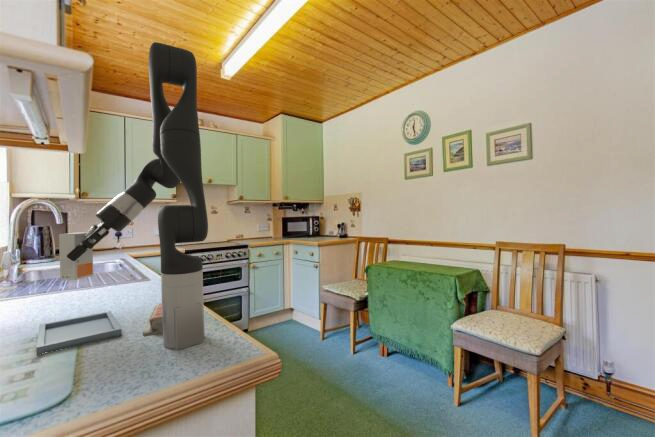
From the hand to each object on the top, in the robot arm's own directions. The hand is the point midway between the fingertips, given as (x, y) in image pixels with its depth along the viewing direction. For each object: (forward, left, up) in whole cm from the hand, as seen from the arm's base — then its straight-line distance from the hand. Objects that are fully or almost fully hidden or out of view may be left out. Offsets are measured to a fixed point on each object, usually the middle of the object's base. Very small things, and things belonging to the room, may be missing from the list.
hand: (69, 257), depth 81 cm
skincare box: (0, -2, -6) cm, 6 cm away
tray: (0, -1, -20) cm, 20 cm away
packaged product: (-7, -21, -21) cm, 31 cm away
